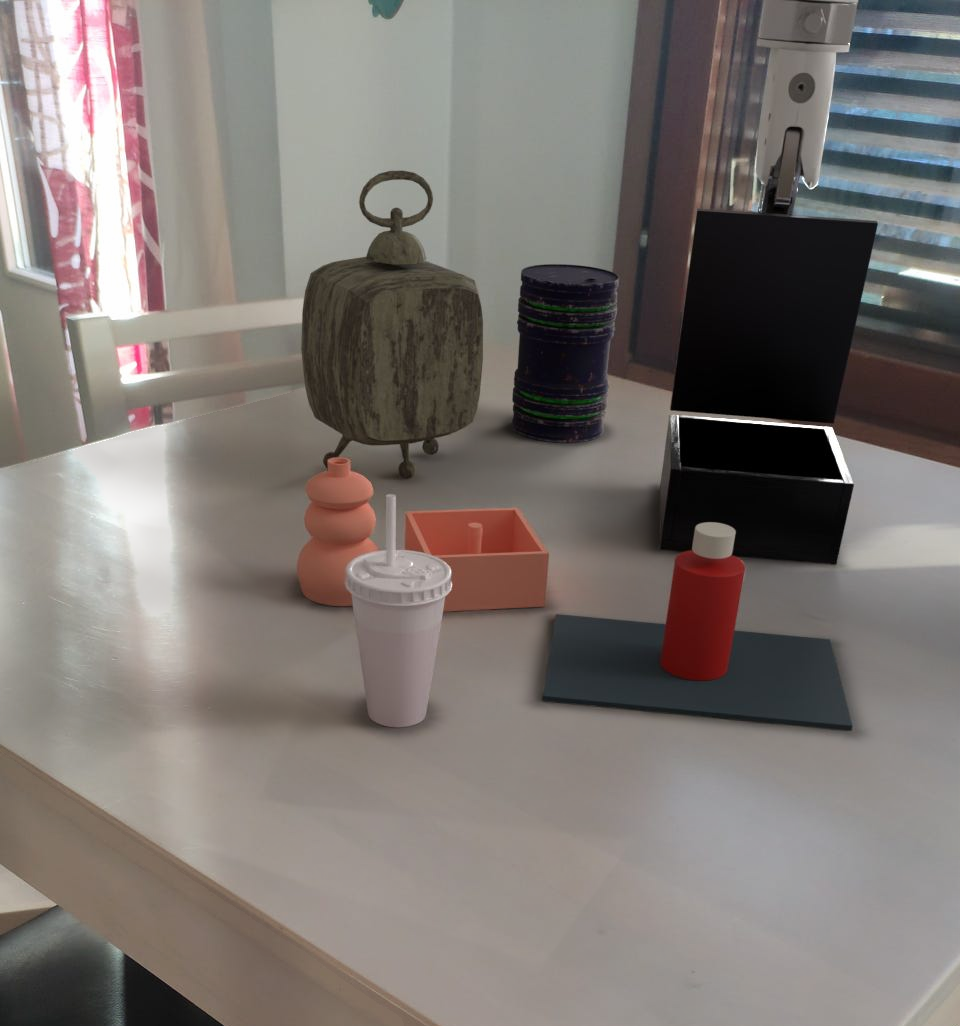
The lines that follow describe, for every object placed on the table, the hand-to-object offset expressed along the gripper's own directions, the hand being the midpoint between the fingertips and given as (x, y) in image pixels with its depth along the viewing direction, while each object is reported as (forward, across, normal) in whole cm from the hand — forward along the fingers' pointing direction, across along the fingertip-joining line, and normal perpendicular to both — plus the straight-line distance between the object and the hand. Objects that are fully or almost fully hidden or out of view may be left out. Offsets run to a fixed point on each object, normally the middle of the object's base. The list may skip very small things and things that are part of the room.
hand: (765, 270), depth 113 cm
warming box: (+18, -16, 0) cm, 24 cm away
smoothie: (+18, -56, +24) cm, 63 cm away
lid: (+2, -9, 0) cm, 9 cm away
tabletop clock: (+18, -10, +32) cm, 38 cm away
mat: (+18, -46, +5) cm, 49 cm away
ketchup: (+17, -46, +5) cm, 49 cm away
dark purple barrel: (+18, +8, +18) cm, 27 cm away
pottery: (+18, -36, +26) cm, 48 cm away
